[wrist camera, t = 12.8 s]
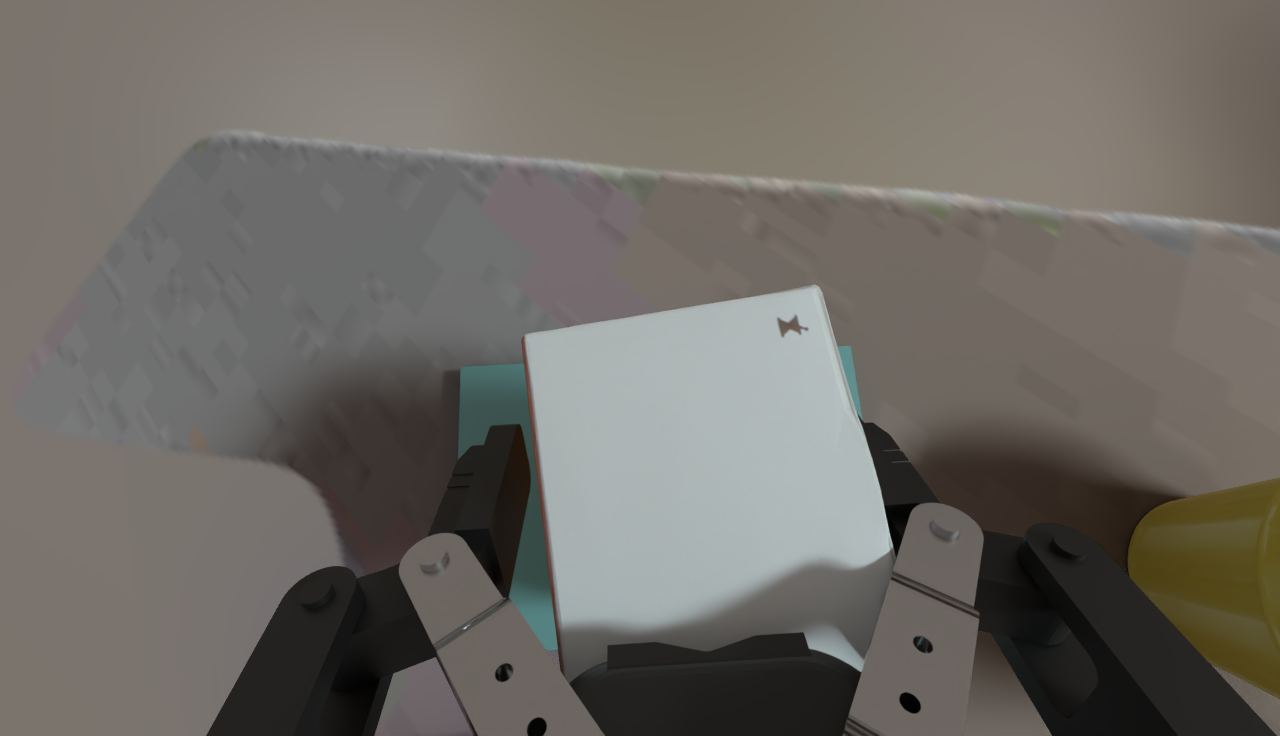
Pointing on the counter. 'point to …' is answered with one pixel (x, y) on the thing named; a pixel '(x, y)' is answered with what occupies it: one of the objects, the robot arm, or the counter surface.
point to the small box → (705, 481)
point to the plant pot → (1218, 576)
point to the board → (533, 475)
